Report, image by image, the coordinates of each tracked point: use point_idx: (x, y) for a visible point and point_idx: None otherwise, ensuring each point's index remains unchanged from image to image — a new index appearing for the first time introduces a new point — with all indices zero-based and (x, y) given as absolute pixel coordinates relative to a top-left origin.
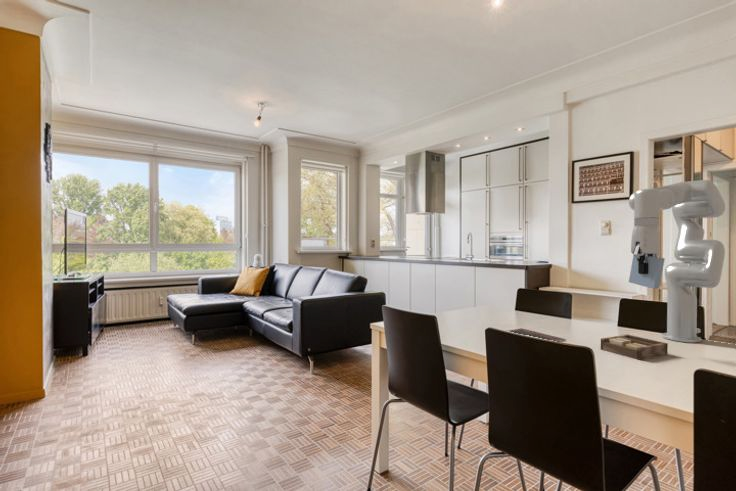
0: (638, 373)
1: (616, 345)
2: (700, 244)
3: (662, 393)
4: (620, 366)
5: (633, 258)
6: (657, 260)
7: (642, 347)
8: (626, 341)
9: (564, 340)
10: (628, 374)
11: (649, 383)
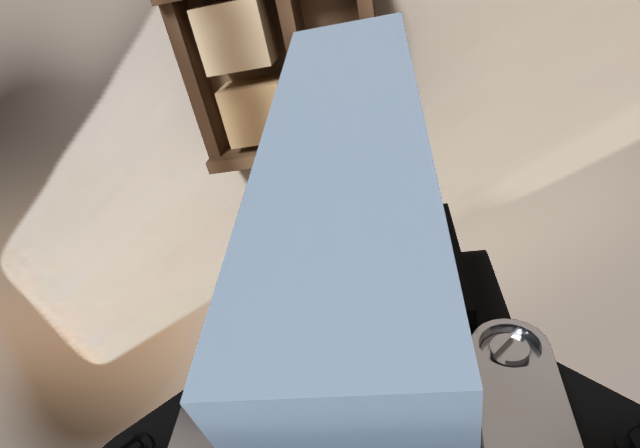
0: (147, 219)
1: (181, 74)
2: None
3: (110, 317)
4: (135, 158)
5: (224, 284)
6: None
7: (228, 168)
8: (239, 71)
9: None
10: (112, 217)
11: (123, 274)
